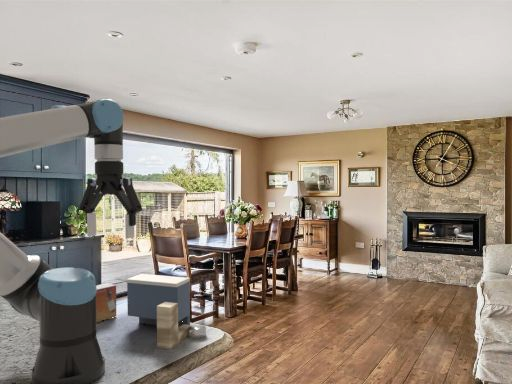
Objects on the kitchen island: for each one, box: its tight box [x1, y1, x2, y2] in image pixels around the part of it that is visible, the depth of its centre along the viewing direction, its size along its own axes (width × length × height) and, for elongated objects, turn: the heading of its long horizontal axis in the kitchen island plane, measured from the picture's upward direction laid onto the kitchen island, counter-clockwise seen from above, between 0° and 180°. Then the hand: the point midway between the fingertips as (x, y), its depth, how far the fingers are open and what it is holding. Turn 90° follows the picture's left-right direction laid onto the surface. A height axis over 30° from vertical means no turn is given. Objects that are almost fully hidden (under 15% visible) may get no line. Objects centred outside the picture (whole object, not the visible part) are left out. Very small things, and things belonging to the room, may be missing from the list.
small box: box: [96, 282, 117, 324], centre depth 132 cm, size 8×6×10 cm
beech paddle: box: [156, 302, 194, 350], centre depth 114 cm, size 13×4×11 cm, turn 160°
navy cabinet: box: [125, 273, 191, 327], centre depth 122 cm, size 8×17×15 cm, turn 70°
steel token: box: [187, 324, 207, 340], centre depth 117 cm, size 5×5×2 cm
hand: (110, 236), depth 115 cm, fingers open, 13 cm apart
